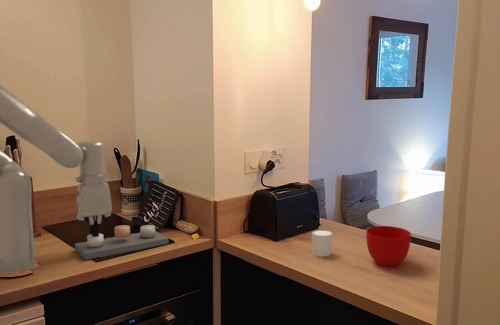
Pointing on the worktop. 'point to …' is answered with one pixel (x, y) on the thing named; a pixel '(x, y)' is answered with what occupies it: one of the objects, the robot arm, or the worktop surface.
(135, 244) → the button board
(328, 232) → the white tapered tub
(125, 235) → the terracotta button
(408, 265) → the worktop surface
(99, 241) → the cream button
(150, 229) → the sage button
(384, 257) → the ceramic cup
